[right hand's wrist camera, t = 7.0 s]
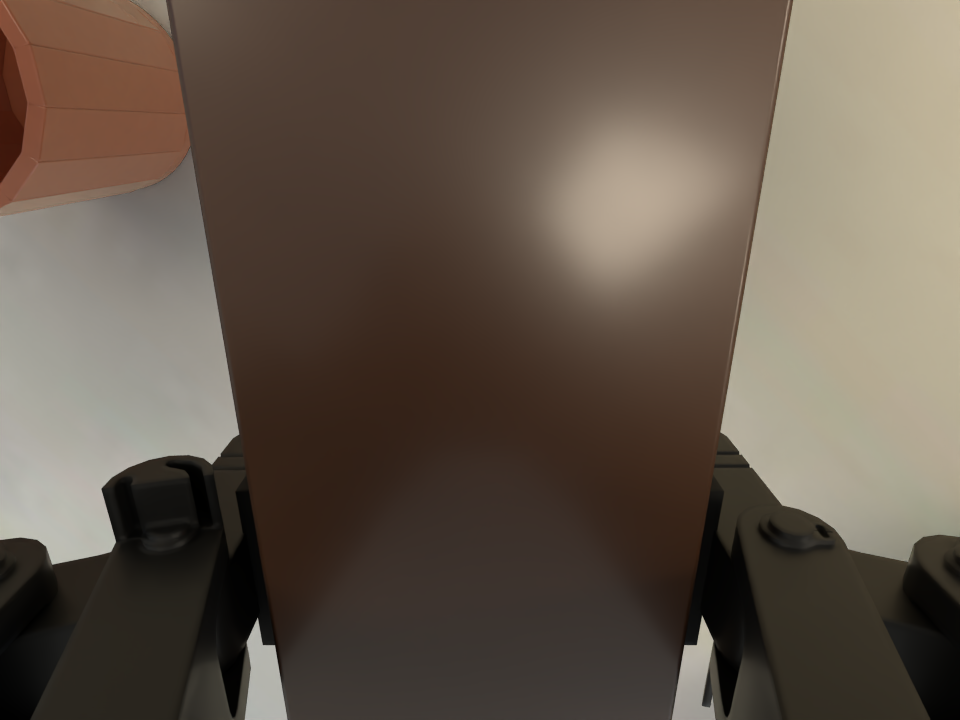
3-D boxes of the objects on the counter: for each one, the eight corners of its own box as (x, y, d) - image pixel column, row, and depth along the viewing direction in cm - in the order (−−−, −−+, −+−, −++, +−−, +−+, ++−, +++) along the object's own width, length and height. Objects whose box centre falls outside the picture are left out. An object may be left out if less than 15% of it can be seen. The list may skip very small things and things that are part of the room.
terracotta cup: (178, -14, 22) (-6, -100, 14) (211, 190, 25) (75, 222, 16) (-19, -14, 22) (-323, -100, 14) (36, 190, 25) (-190, 222, 16)
